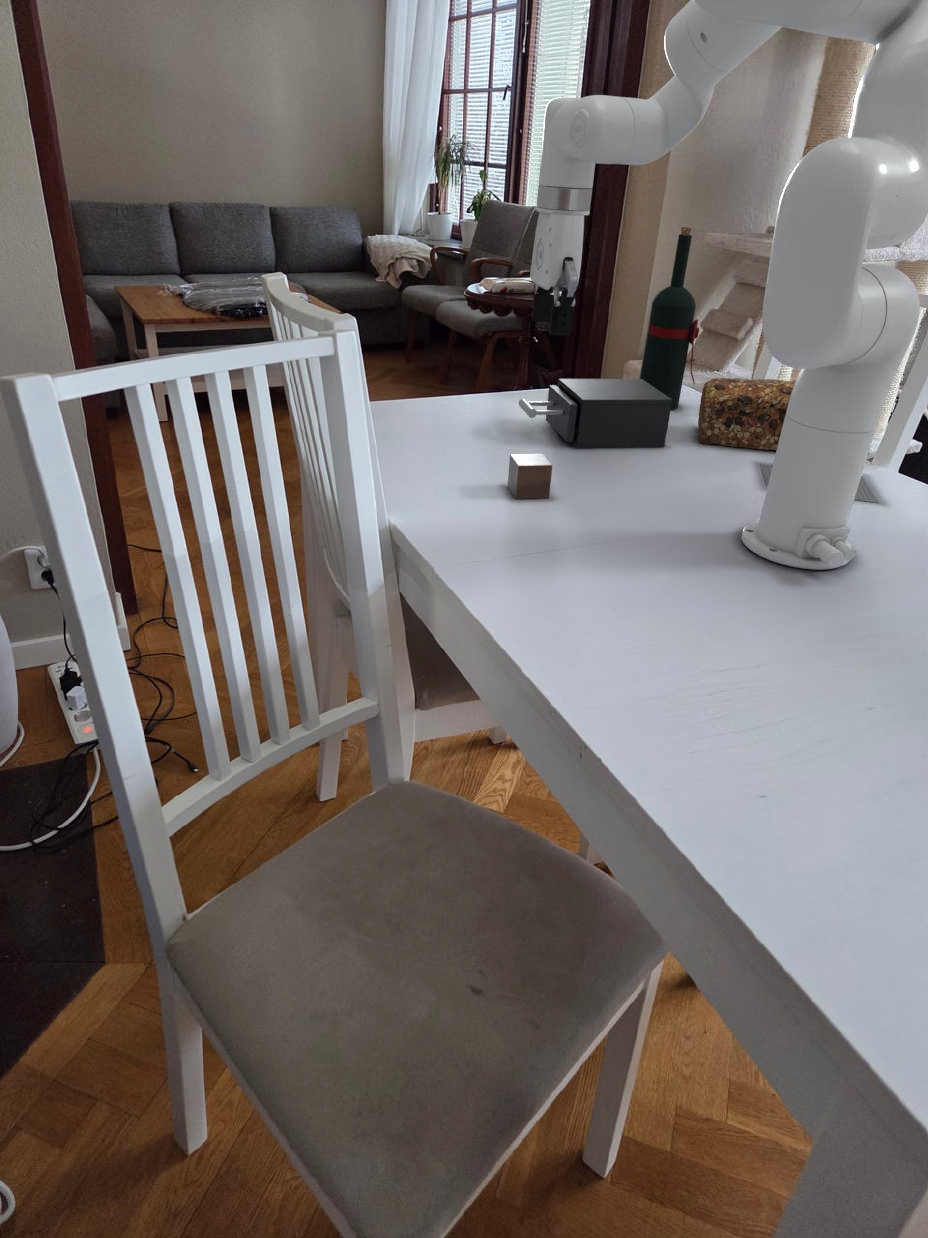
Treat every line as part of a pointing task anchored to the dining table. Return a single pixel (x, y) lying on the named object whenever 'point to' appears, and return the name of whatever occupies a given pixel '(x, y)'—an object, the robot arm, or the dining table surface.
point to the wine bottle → (671, 329)
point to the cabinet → (618, 413)
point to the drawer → (557, 411)
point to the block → (529, 476)
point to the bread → (743, 412)
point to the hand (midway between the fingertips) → (550, 327)
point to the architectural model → (862, 492)
